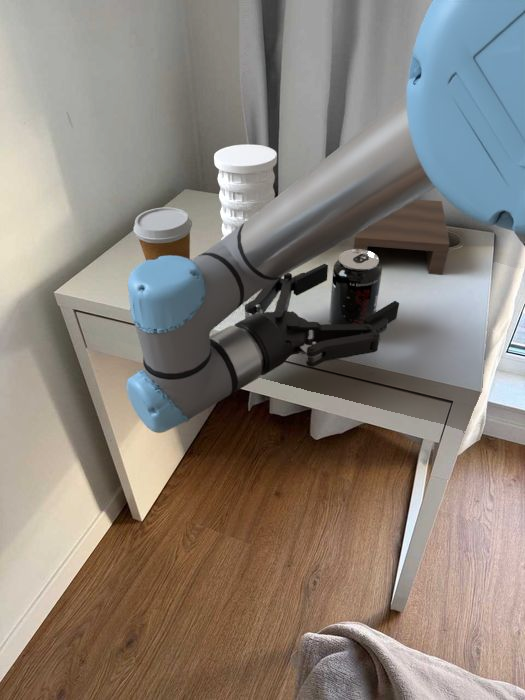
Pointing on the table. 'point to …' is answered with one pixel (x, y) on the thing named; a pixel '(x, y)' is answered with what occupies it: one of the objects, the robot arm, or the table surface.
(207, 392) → the robot arm
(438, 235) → the shelf
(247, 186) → the decorative container
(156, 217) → the disposable coffee cup
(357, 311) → the beverage can
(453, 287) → the table surface
